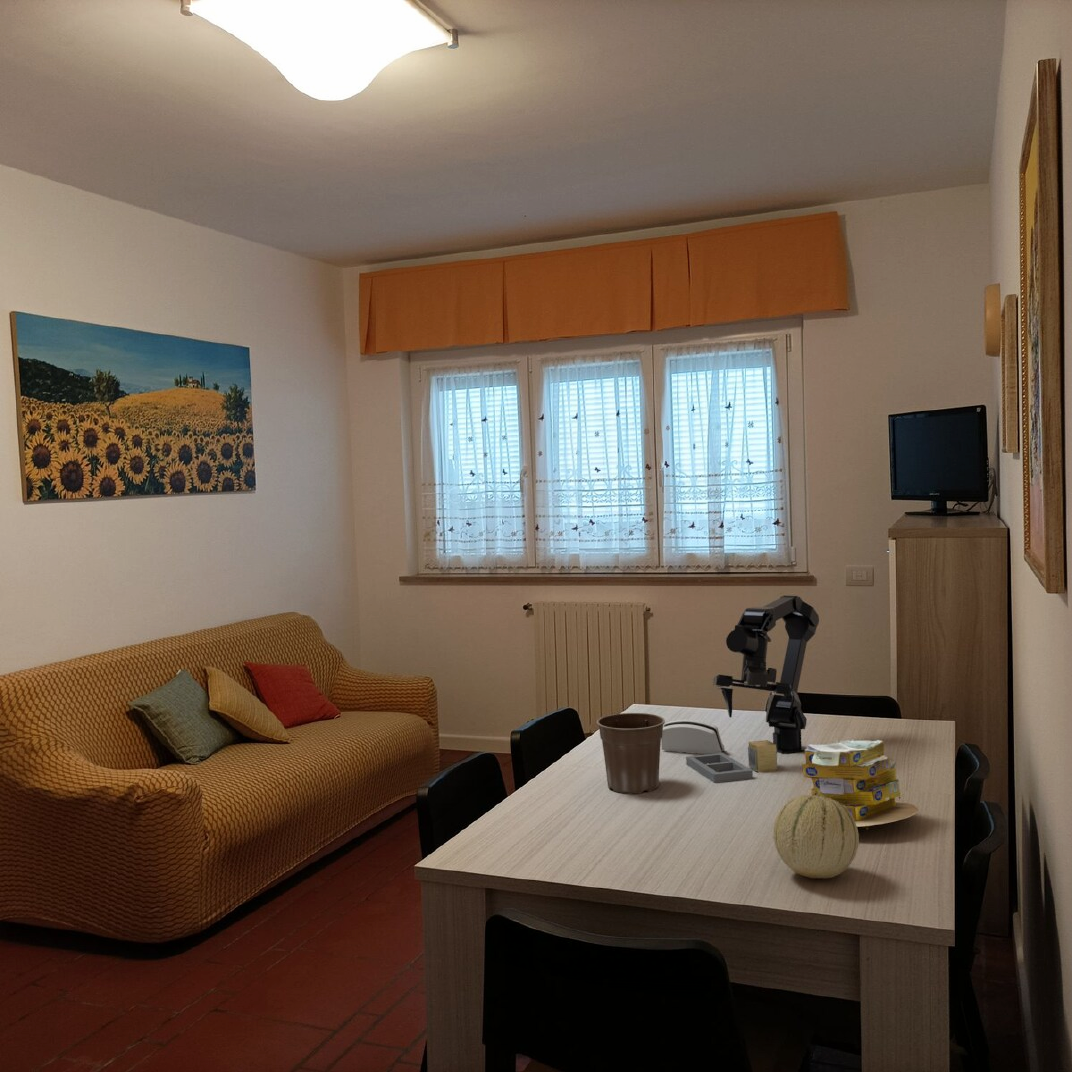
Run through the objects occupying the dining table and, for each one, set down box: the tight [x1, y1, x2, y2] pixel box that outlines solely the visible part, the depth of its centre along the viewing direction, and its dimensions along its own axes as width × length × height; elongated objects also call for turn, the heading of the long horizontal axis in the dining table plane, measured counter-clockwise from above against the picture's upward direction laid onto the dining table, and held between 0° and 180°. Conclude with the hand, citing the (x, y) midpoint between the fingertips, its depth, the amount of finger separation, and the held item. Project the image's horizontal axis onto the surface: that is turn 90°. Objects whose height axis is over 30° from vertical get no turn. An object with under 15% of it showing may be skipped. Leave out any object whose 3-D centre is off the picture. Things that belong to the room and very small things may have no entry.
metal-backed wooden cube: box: [747, 739, 778, 773], centre depth 255 cm, size 6×5×6 cm
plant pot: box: [596, 712, 666, 794], centre depth 244 cm, size 16×16×16 cm
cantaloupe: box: [773, 789, 860, 880], centre depth 184 cm, size 15×15×15 cm
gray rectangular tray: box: [685, 752, 754, 784], centre depth 255 cm, size 10×18×2 cm, turn 13°
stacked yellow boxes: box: [802, 737, 919, 831], centre depth 213 cm, size 25×25×17 cm
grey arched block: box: [661, 719, 726, 755], centre depth 275 cm, size 17×5×10 cm, turn 63°
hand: (748, 719), depth 256 cm, fingers open, 9 cm apart
